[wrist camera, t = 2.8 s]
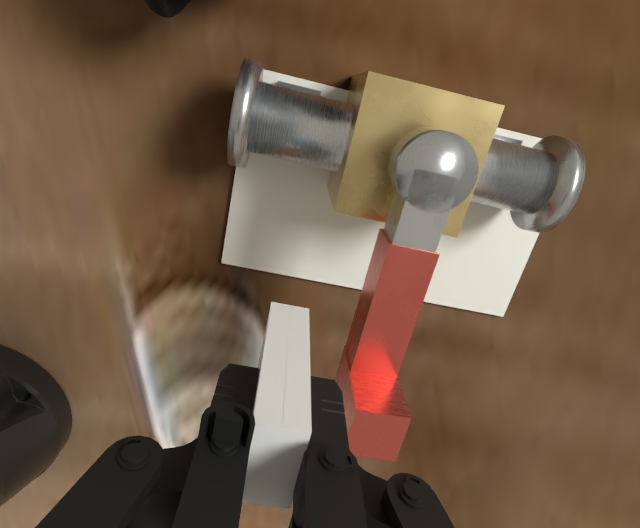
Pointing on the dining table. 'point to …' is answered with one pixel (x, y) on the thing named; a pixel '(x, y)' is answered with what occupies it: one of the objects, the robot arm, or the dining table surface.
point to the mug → (167, 6)
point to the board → (363, 231)
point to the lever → (400, 285)
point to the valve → (384, 133)
